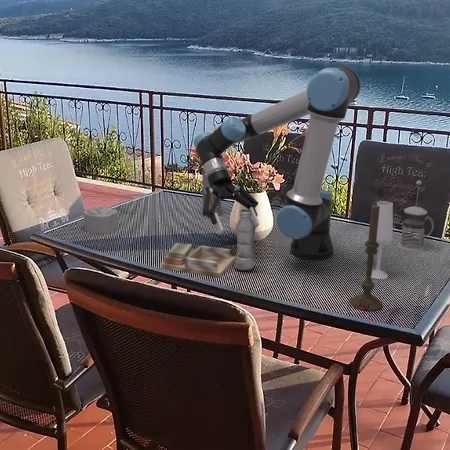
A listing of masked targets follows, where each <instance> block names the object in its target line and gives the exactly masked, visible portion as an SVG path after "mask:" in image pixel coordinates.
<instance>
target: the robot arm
mask: <svg viewBox="0 0 450 450" xmlns="http://www.w3.org/2000/svg"><path fill="white" fill-rule="evenodd" d="M361 88H362V87H361V79H360V77H359V75H358V74H357V72H356V71H355V70H353V68H349V67H346V66H339V67H325V68H323V69H321V70H319V71H316V73H315V74H313V76H312V77H311V78H310V79H309V81H308V84H307V86H306V89H305V90H304V91H301V92H299V93H297V94H295V95H293V96H291V97H288V98H286V99H283V100H281V101H279V102H277V103H275V104H273V105H271V106H268V107H266V108H263V109H262V110H260V111H257V112H255V113H252V114H250V115H248V116H246V117H244V118H241V119H240V118H238V117H236V116H231V117H228V118H227V119H226V120H225V121H223V123H222V124H221V125H219V126H218V127H217V128H216V129H215V130H213V132H208V131H207V132H206V131H205V132H202V133H201V134H198V135H196V137H195V138H194V140H193V145H194V148H195V149H194V150H195V152H196V154H197V157H198V159H199V161H200V163H201V165H202V166H203V169H204V172H205V174H206V177H207V178H208V182H209V185H210V187H211V188H209V187H206V188H205V190H204V196H205V199H204V206H203V205H202V216H203V217H207V218H208V219H209V220H210V222H211V224H212V226H213V225H214V226H215V229H216V231H217V234H218V235H222V233H223V232H224V227H223V226H222V223H221V220H220V218H219V216H218V215H217V213H214V211H215V209H216V206H217V204H218V202H219V199H221V201H224V200H230V199H231V200H233V201H236V202H237V203H239V204H240V205H241V206H243V207H245V209H249V210H251V211H252V217H251V219H252V220H253V221H254V223H255V226H256V228H258V226H259V225H260V221H259V219H258V212H257V211H256V210H257V209H256V208H257V206H258V205H259V202H258V201H257V200H256V199H255V198H254V197H253V196H252V195H251V194H250V193H249V192H248V190H246V188H245V187H244V186H243V183H241V182H238V183H237V184H233V181H232V178H231V174H230V172H229V170H228V168H227V166H226V162H225V161H224V158H223V156H222V154H223V153H224V152H226V151H227V150H228V149H229V148H230V147H232V146H233V145H237V144H239V143H242V142H246V141H249V140H253V139H255V138H256V137H258V136H260V135H263V134H266V133H267V132H269V131H272V130H274V129H277V128H279V127H282V126H283V125H287V124H289V123H291V122H294V121H297V120H298V119H301V118H303V117H305V116H308V115H309V121H308V125H307V129H306V133H305V138H304V142H303V147H302V150H301V155H300V157H299V158H300V159H299V162H298V166H297V170H296V174H295V178H294V183H293V188H292V189H290V190H289V191H287V192H286V196H285V200H284V203H283V207H281V208H280V209H279V211H278V212H277V214H276V225H277V228H278V229H279V231H280V232H281V233H282V234H283V235H284V236H285V237H287V238H289V239H292V240H291V242H290V249H289V250H290V254H291V255H293V256H294V257H297V258H300V259H302V260H303V259H304V260H309V261H310V260H311V261H312V260H313V261H319V260H321V261H322V260H325V259H330V258H331V257H333V255H334V245H333V241H332V237H331V234H330V233H331V231H330V230H331V218H332V217H331V215H332V206H333V195H332V192H330V190H327V189H322V185H323V181H324V178H325V175H326V171H327V167H328V164H329V161H330V160H329V159H330V155H331V151H332V149H333V148H332V147H333V144H334V141H335V137H336V133H337V129H338V127H339V126H338V125H339V123H340V122H341V121H343V120H344V119H345V117H346V114H347V111H348V107H349V104H351V103H353V102H354V101H355V100H356V99H357V98H358V97H359V95H360V92H361ZM202 166H201V167H202ZM211 193H213V194H214V195H215V196H216V197H215V199H214V202H213V204H212V207H211V209H210V210H209V203H210V194H211ZM206 215H207V216H206ZM256 228H255V229H256Z"/></svg>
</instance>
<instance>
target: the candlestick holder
mask: <svg viewBox="0 0 450 450" xmlns="http://www.w3.org/2000/svg"><path fill="white" fill-rule="evenodd" d="M379 209H380V206H378V205H377V203H374V204H372V205H371V208H370V217H369V228H368V240H367V241H365V243H364V246H366V247H365V251H364V252H365V254H366V255H368V256H367V259H366V261H365V263H366V272H365V273H366V274H365V275H366V277H365V279H364V280H363V281H362V282H361V288H362V289H363V293H361V294H357V295H355V296H353V297H351V298H350V300H349V304H350V306H351V307H353V308H354V307H355V308H354V309H356V308H358V309H357V310H359V309H360V310H359V311H362V310H364V311H363V312H376V311H375V310H377V311H379V309H380V310H381V309H382V308H383V307H384V306H383V305H384V304H383V302H382V301H381V300H380V299H379V298H378V297H376V296H374V295H373V294H372V291H373V290H374V288H375V283H374V282H373V280H372V277H371V275H372V270H373V268H374V267H373V266H374V265H375V262H374V261H375V258H374V256H375V255H378V249H377V248H378V246H379V243H377V242H376V239H377V229H378V219H379Z"/></svg>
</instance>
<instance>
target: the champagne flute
mask: <svg viewBox="0 0 450 450" xmlns="http://www.w3.org/2000/svg"><path fill="white" fill-rule="evenodd" d="M376 205H378V206H380V209H379V219H378V229H377V239H376V242H377V243H379V246H378V247H377V248H378V249H377V257H376V266H375V267H376V268H375V269H372V275H371V279H375V280H377V279H378V280H384V279H387V278H389V274H387V272H385V271H383V270H381V263H382V262H381V261H382V255H383V254H382V253H383V247H386V246H387V245H388V244H390V243H391V241H392V240H393V235H394V234H393V226H394V219H393V217H394V216H393V215H394V212H393V211H394V205H393V202H391V201H386V200H383V201H382V200H380V201H377V202H376Z"/></svg>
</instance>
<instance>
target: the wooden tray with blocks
mask: <svg viewBox="0 0 450 450" xmlns="http://www.w3.org/2000/svg"><path fill="white" fill-rule="evenodd" d="M235 257H236V256H232V255H231V249H229V248H222V247H215V246H207V245H199V246H198V247H196V248H195V249H193V244H192V243H179V242H176V243H175V244H174V245H173V246H172V247H171V248H170V249H169V251H168V253H167V255H165V256H164V257H163V261H162V262H161V263H160V269H163V270H164V269H165V270H170V271H177V272H181V273H182V272H183V273H190V274H196V275H203V276H208V277H214V278H221V277H222V276H224V274H225V273H226V272H227V271H228V270H229V269H230V268H231V267H232V266H233V265H234V264H235Z"/></svg>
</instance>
